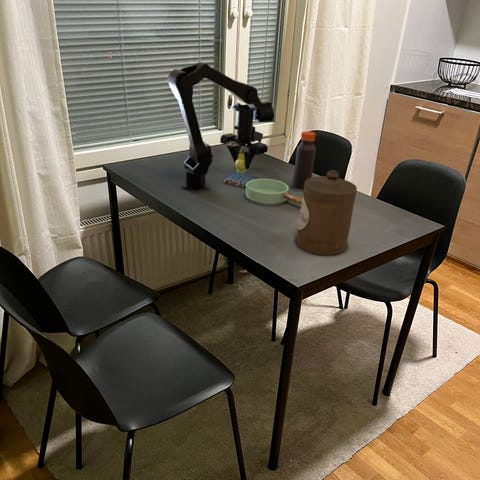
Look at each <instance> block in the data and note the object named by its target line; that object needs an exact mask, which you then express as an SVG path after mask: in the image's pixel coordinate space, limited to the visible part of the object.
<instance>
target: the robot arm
mask: <svg viewBox="0 0 480 480" xmlns="http://www.w3.org/2000/svg"><path fill="white" fill-rule="evenodd" d="M203 80H208V81H210V82H211V83H213V84H215V85H217V86H219V87H221V88H223V89H225V90H227V91H228V92H229V93H230V94H231V95H232V96H233V97H234V98H236V99H237V100H238V101H240V102H242V103H243V104H241V103H240V102H236V103H235V104H234V105H233V106H231V110H234V111H235V112H237V113H236V114H237V115H236V125H233V129H234V130H236V131H235V132H236V133H235V134H234V133H231V132H229V133H224V134H221V136H220V138H219V140H220V141H219V143H220V144H223V145H225V147H226V148H227V150H228V151H229V153H230V155H231V158H232V161H233V162H234V163H233V164H234V165H235V164H236V160H237V159H238V155H239V153H240V152H241V149H242V147H244V148H247V150H244V158H245V168H246V169H247V170H249V168H250V166H251V164H252V162H253V159H254V157H255V156H259V155H263V154H266V153H268V150H269V149H268V145H267V144H266V143H263V142H262V140H263V137H264V133H262V132H258V131H256V126H254V123H258V124H260V123H262V124H263V123H271V122H273V121H274V118H275V112H274V108H273V102H271V101H268V100H267V101H261V99H260V97H259V93H258V89H257V88H256V87H255V86H252V85H250V84H248V83H245V82H242V81H238V80H235V79H234V78H231V77H229V75H225V73H222V72H221V71H218V70H217V69H215V68H213V67H211V66H210V65H209V63H205V62H203V61H199V62H197V63H194V64H192V65H189V66H186V67H182V68H180V69H179V68H174V69H171V70H170V72H169V73H168V76H167V83H168V85H169V87H170V89H171V91H172V93H173V95H174V97H175V98H176V100H177V102H178V105H179V109H180V112H181V116H182V119H183V122H184V127H185V130H186V134H187V136H188V137H187V138H188V141H189V147H188V153H189V156H188V157H187V158H186V160H184V162H183V166H184V168H185V170H187V171H186V172H185V176H186V177H185V185H183V189H186V190H188V191H190V192H192V191H193V192H198V191H202V190H204V189H208V186H206V175H207V173H208V171H209V168H210V166H211V165H212V163H213V158H214V155H213V154H212V147H211V145H210V144H208V143H207V142H205V141H204V139H203V135H202V132H201V127H200V124H199V121H198V117H197V113H196V109H195V105H194V102H193V96H194V87H195V86H196V85H198V84H200V82H202V81H203Z"/></svg>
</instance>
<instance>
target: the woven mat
mask: <svg viewBox="0 0 480 480" xmlns="http://www.w3.org/2000/svg"><path fill="white" fill-rule="evenodd" d="M254 179H259V176H255V175H252V174H247V173H244V172H238V171H234V172H232V173H230V174H229V175H226V176H225V177H223V182H224V183H228V184H232V185H234V186H240V187H243V188H244V187H246V184H247V182H249V181H250V180H254Z"/></svg>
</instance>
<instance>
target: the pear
mask: <svg viewBox="0 0 480 480" xmlns="http://www.w3.org/2000/svg"><path fill="white" fill-rule="evenodd" d="M241 149H242V150H241V151H240V153H239V155H238V159H237V160H236V164H235V163H234V166H235V168H236V172H239V173H247V170H248V169H246V168H245V158H244V152H245V149H244V148H241Z"/></svg>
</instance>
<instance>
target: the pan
mask: <svg viewBox="0 0 480 480" xmlns="http://www.w3.org/2000/svg"><path fill="white" fill-rule="evenodd" d="M289 189H290V188H289V185H288V184H286V183H285V182H284V181H280V180H279V179H278V180H277V179H274V178H273V179H272V178H258V179H254V180H250V181H249V182H247V184H246V186H245V193H244V195H245V198H247V199H249V200H250V201H252V202H255V203H259V204H265V205H274V204H275V205H276V204H277V205H278V204H282V203H285V202H286V201H288V199H285V198H284V197H283V194H284V193H289Z"/></svg>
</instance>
